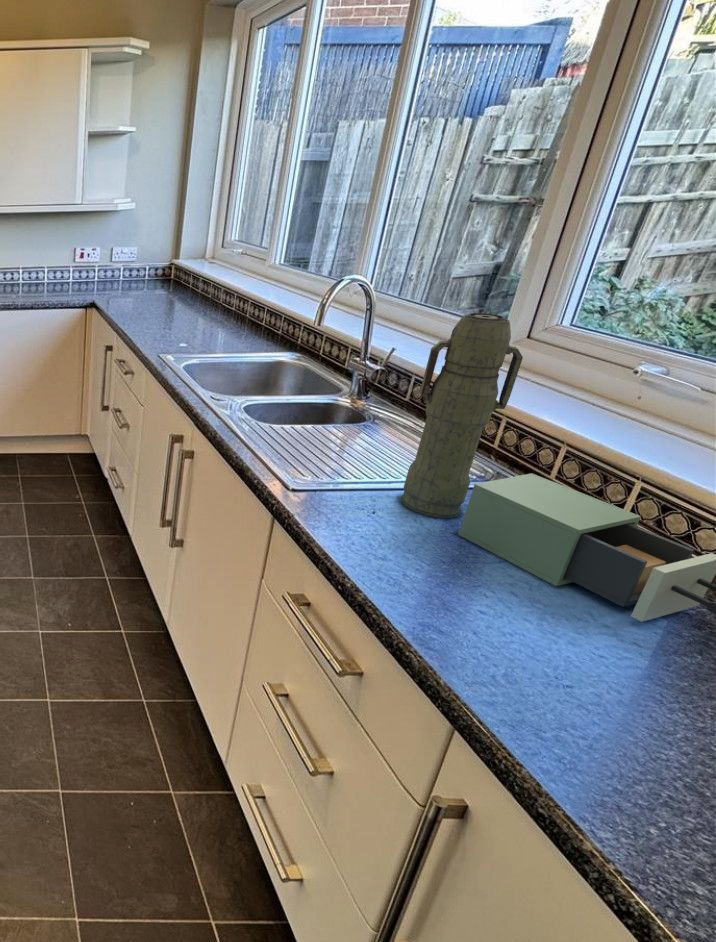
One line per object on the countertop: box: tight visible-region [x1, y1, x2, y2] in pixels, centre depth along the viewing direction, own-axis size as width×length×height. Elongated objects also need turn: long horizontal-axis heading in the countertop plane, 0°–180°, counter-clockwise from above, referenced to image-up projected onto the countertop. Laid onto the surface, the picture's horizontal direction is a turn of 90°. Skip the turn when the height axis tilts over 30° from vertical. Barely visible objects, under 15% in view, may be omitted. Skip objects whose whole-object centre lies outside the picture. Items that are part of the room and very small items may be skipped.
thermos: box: [400, 312, 524, 519], centre depth 105 cm, size 9×12×35 cm
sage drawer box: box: [457, 472, 642, 587], centre depth 96 cm, size 15×13×10 cm
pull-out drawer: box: [564, 523, 716, 623], centre depth 85 cm, size 18×11×8 cm, turn 16°
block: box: [616, 545, 666, 594], centre depth 87 cm, size 4×4×4 cm
